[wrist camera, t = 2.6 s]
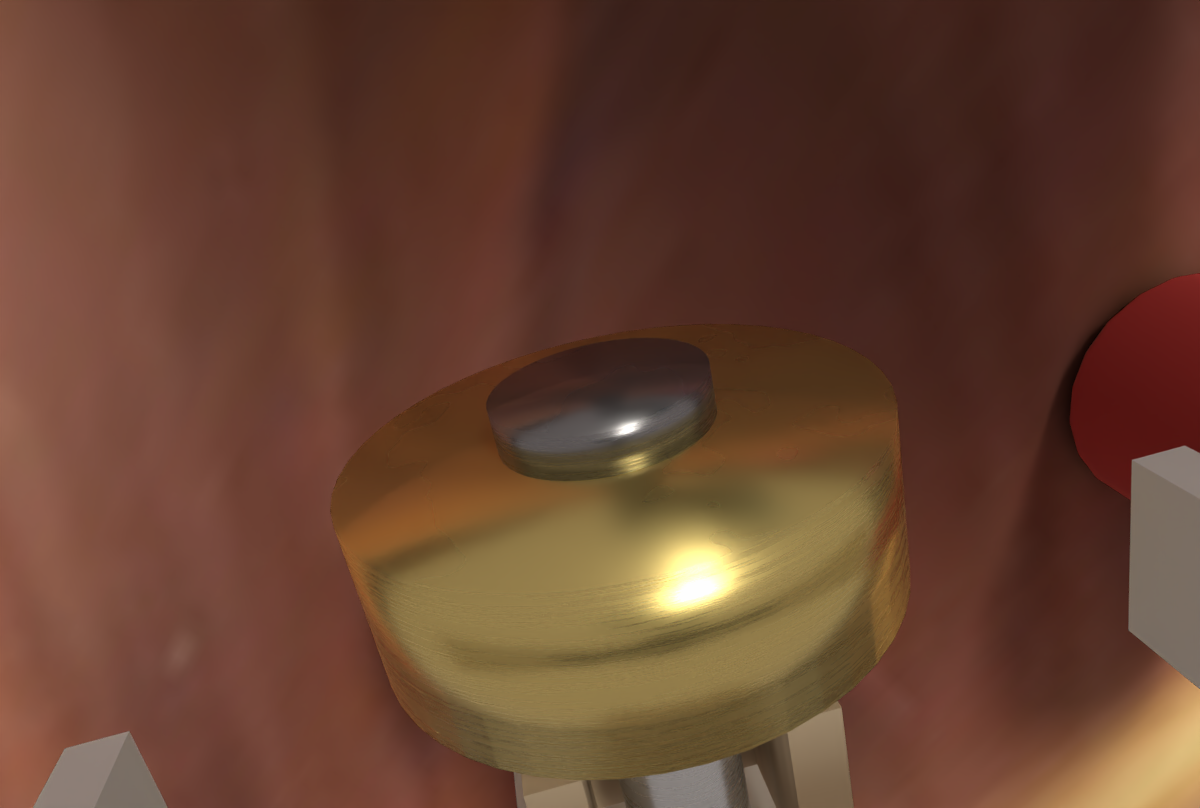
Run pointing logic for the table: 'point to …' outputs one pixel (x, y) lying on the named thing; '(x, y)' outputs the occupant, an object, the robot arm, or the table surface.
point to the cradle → (787, 763)
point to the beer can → (1140, 383)
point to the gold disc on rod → (634, 553)
